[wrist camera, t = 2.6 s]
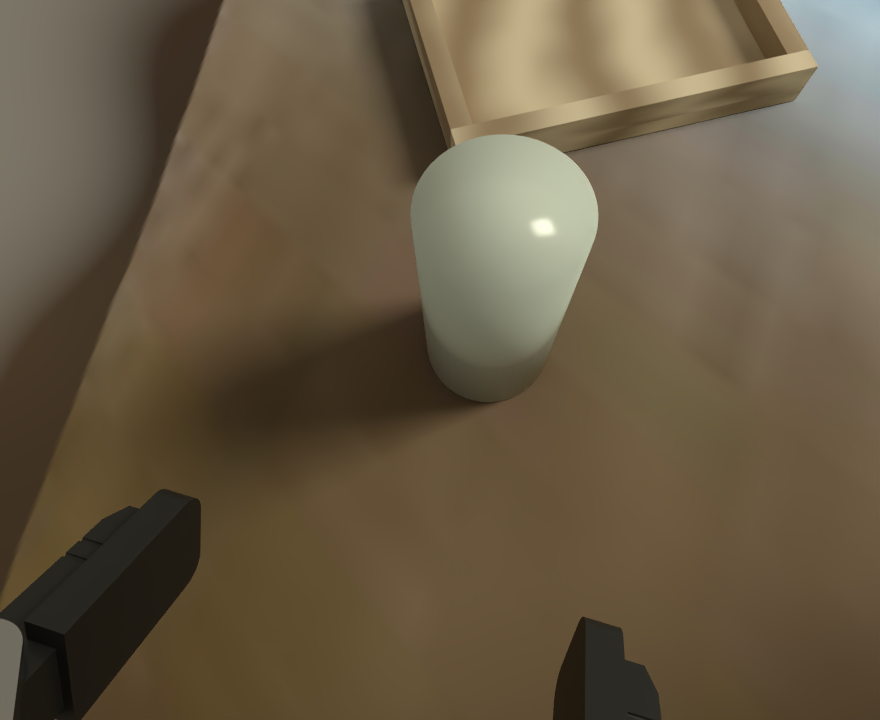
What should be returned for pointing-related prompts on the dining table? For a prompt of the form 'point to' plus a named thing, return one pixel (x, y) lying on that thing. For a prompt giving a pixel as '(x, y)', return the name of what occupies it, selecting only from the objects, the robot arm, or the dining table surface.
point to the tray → (602, 65)
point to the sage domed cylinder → (498, 259)
